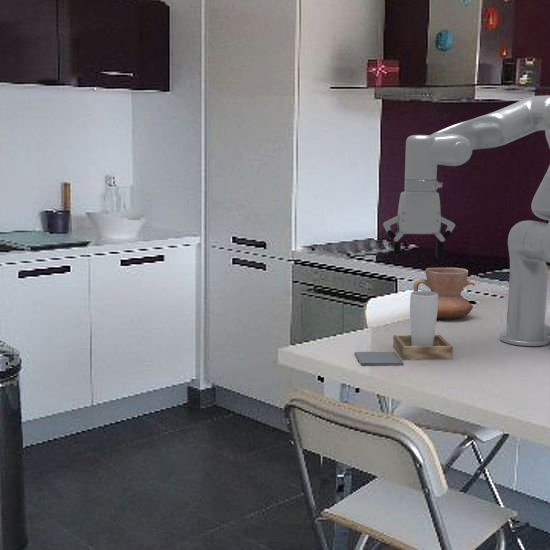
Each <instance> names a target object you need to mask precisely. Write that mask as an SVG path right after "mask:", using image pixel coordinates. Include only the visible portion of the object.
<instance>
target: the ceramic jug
mask: <svg viewBox="0 0 550 550" xmlns="http://www.w3.org/2000/svg"><path fill="white" fill-rule="evenodd" d="M425 275H426V279H425V278H419V279H417V280H416V281H415V282H414V283H413V286H412V287H413V291H412V292H414V291H419V287H420V284H422V285H425V286H426V287H427V288H429V290H430V292H435V293H437V294H438V312H437V320H446V321H447V320H448V321H449V320H458V319H461V318H464V317H466V316H468V315H469V314H470V313H471V311H472V310H473V308H474V304H472V303H471V302H469V300H467V299H466V298H464V296H462V295H461V294H462V292H463V290H464V288H465V287H467V286H469V285H472V286H473V287H475V286H476V283H477V281H475V280H473V279H469V280H468V275H469V270H468V269H466V268H463V267H461V268H459V267H427V268H425Z"/></svg>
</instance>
